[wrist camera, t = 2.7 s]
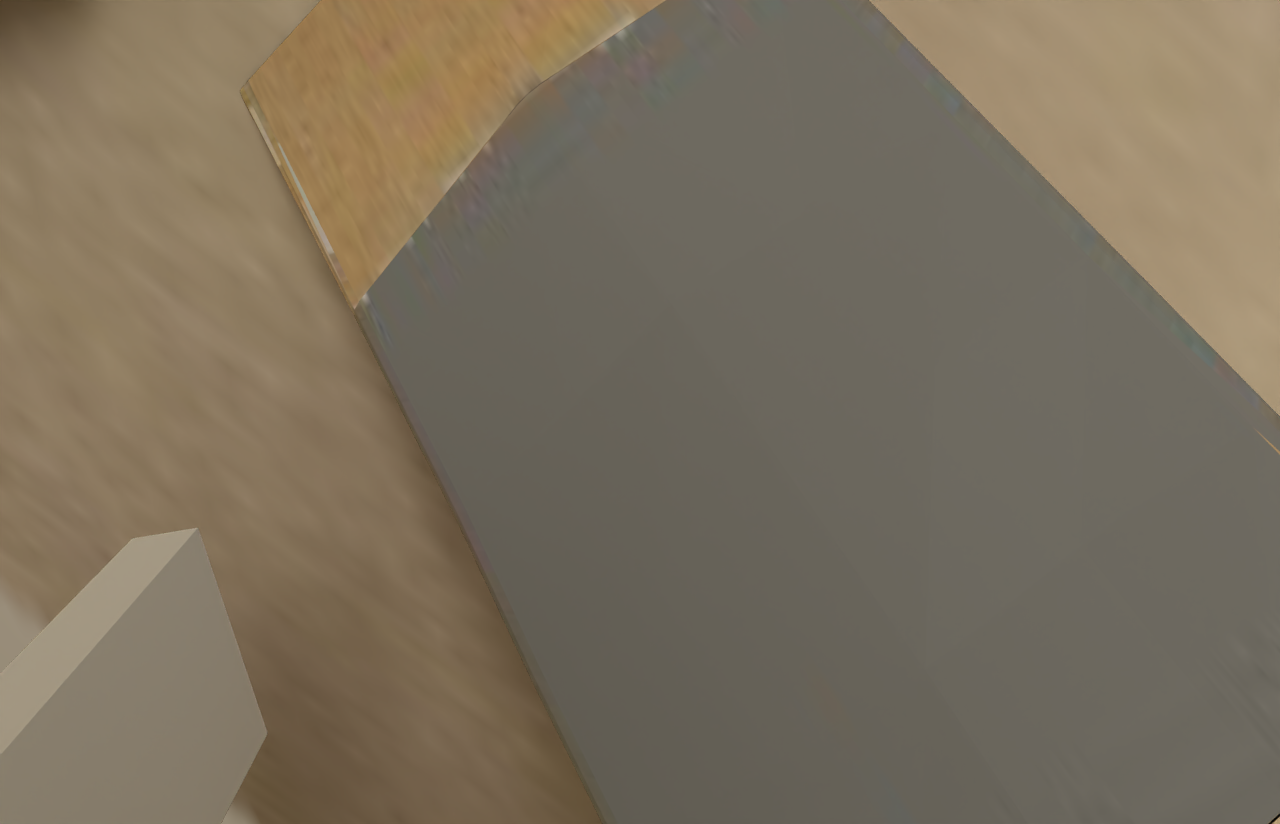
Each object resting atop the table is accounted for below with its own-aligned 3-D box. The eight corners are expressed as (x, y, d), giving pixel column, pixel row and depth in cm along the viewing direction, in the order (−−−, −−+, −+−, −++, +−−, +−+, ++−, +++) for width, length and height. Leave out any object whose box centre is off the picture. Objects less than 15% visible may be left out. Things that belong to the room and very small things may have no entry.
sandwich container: (611, -298, 16) (505, -2091, 2) (1151, 429, 21) (2282, 1344, 6) (221, 91, 18) (-1126, 373, 4) (787, 685, 22) (1052, 1829, 8)
